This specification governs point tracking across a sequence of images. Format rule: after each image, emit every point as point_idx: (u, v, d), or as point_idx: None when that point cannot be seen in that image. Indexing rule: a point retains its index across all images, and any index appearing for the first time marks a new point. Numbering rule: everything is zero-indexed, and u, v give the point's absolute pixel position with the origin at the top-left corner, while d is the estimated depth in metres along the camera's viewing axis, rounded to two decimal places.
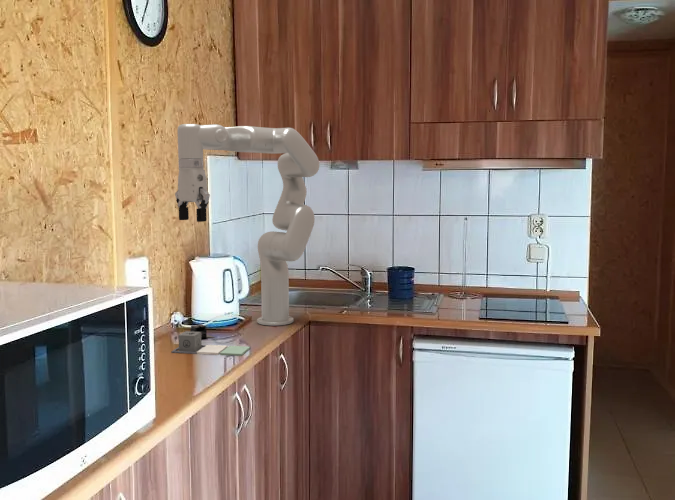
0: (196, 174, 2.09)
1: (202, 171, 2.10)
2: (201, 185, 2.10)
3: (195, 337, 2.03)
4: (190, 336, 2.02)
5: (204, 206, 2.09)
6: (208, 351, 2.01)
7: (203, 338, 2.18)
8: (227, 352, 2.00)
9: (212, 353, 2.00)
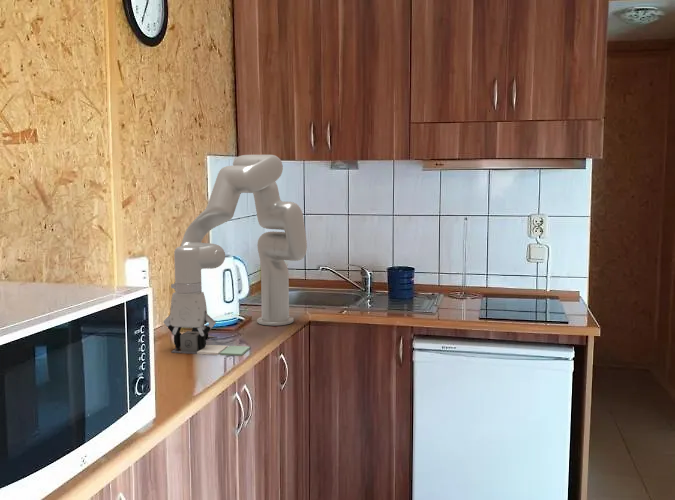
0: None
1: None
2: None
3: (197, 337, 2.03)
4: (192, 336, 2.02)
5: None
6: (208, 351, 2.01)
7: None
8: (227, 352, 2.00)
9: (212, 353, 2.00)
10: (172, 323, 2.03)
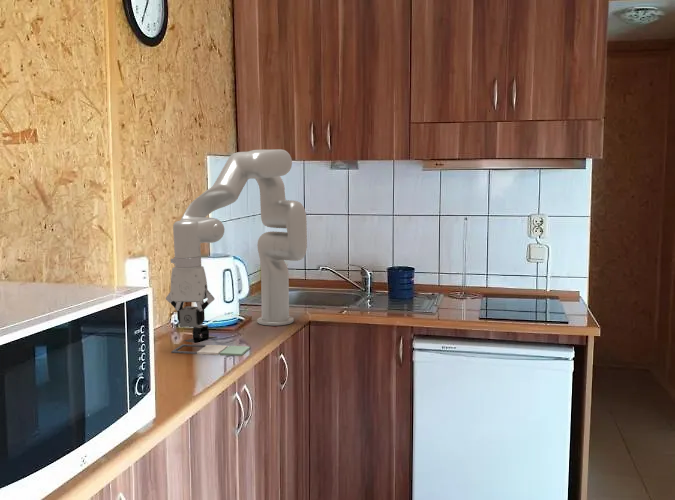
0: None
1: None
2: None
3: (196, 312, 2.03)
4: (191, 311, 2.02)
5: None
6: (208, 351, 2.01)
7: (207, 338, 2.18)
8: (227, 352, 2.00)
9: (212, 353, 2.00)
10: (172, 298, 2.02)
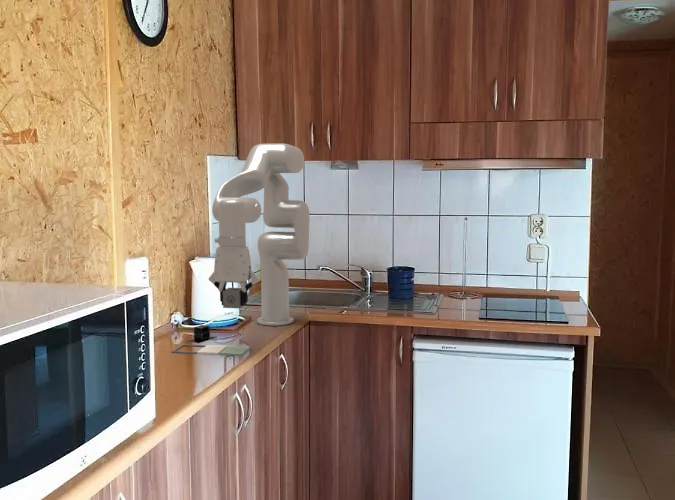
0: None
1: None
2: None
3: None
4: (235, 291, 1.99)
5: None
6: (208, 351, 2.01)
7: (208, 338, 2.18)
8: (227, 352, 2.00)
9: (212, 353, 2.00)
10: (216, 278, 1.99)
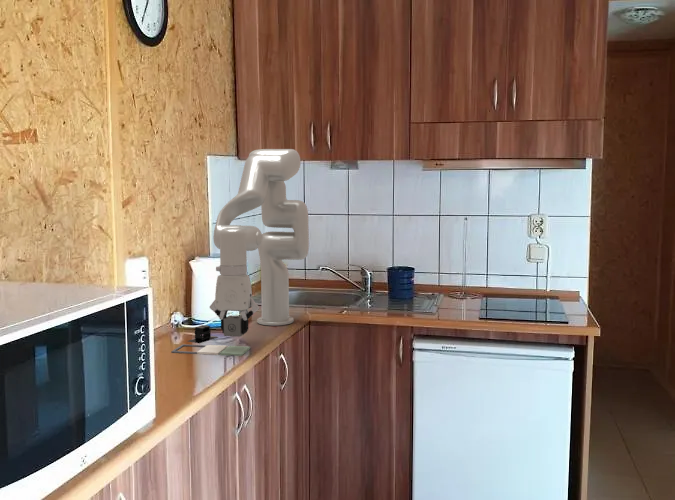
0: None
1: None
2: None
3: (240, 321, 2.00)
4: (236, 320, 1.99)
5: None
6: (208, 351, 2.01)
7: (209, 338, 2.18)
8: (227, 352, 2.00)
9: (212, 353, 2.00)
10: (217, 306, 1.99)
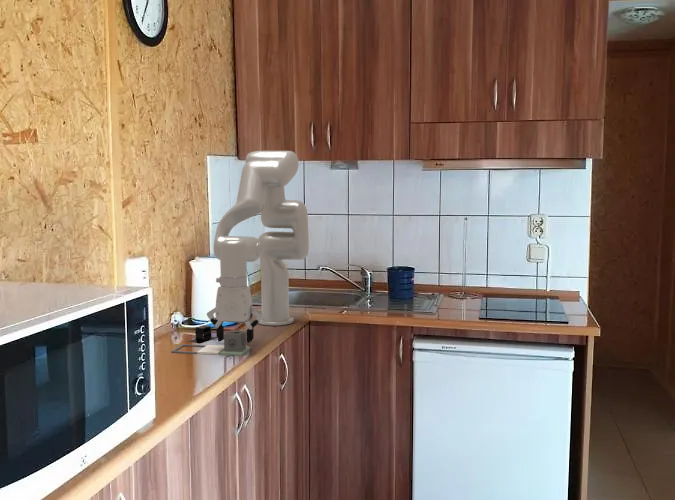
0: None
1: None
2: None
3: (241, 336, 2.01)
4: (236, 335, 2.00)
5: None
6: (208, 351, 2.01)
7: (209, 338, 2.18)
8: (227, 352, 2.00)
9: (212, 353, 2.00)
10: (217, 318, 2.00)
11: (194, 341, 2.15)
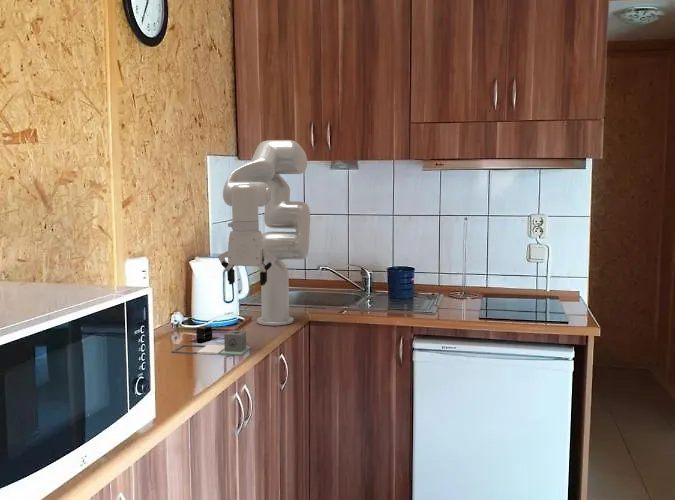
0: None
1: None
2: None
3: (241, 336, 2.01)
4: (236, 335, 2.00)
5: None
6: (208, 351, 2.01)
7: (210, 339, 2.17)
8: (227, 352, 2.00)
9: (212, 353, 2.00)
10: (230, 261, 2.02)
11: (195, 341, 2.15)
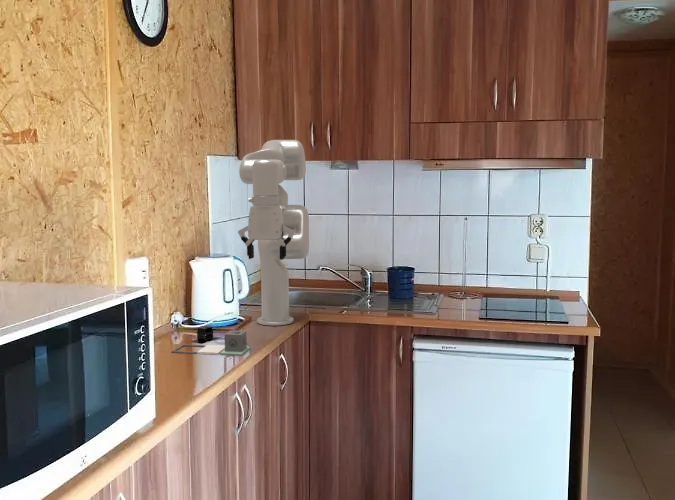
0: None
1: None
2: None
3: (241, 336, 2.01)
4: (236, 335, 2.00)
5: None
6: (208, 351, 2.01)
7: (211, 339, 2.17)
8: (227, 352, 2.00)
9: (212, 353, 2.00)
10: (250, 236, 2.06)
11: (196, 341, 2.14)
